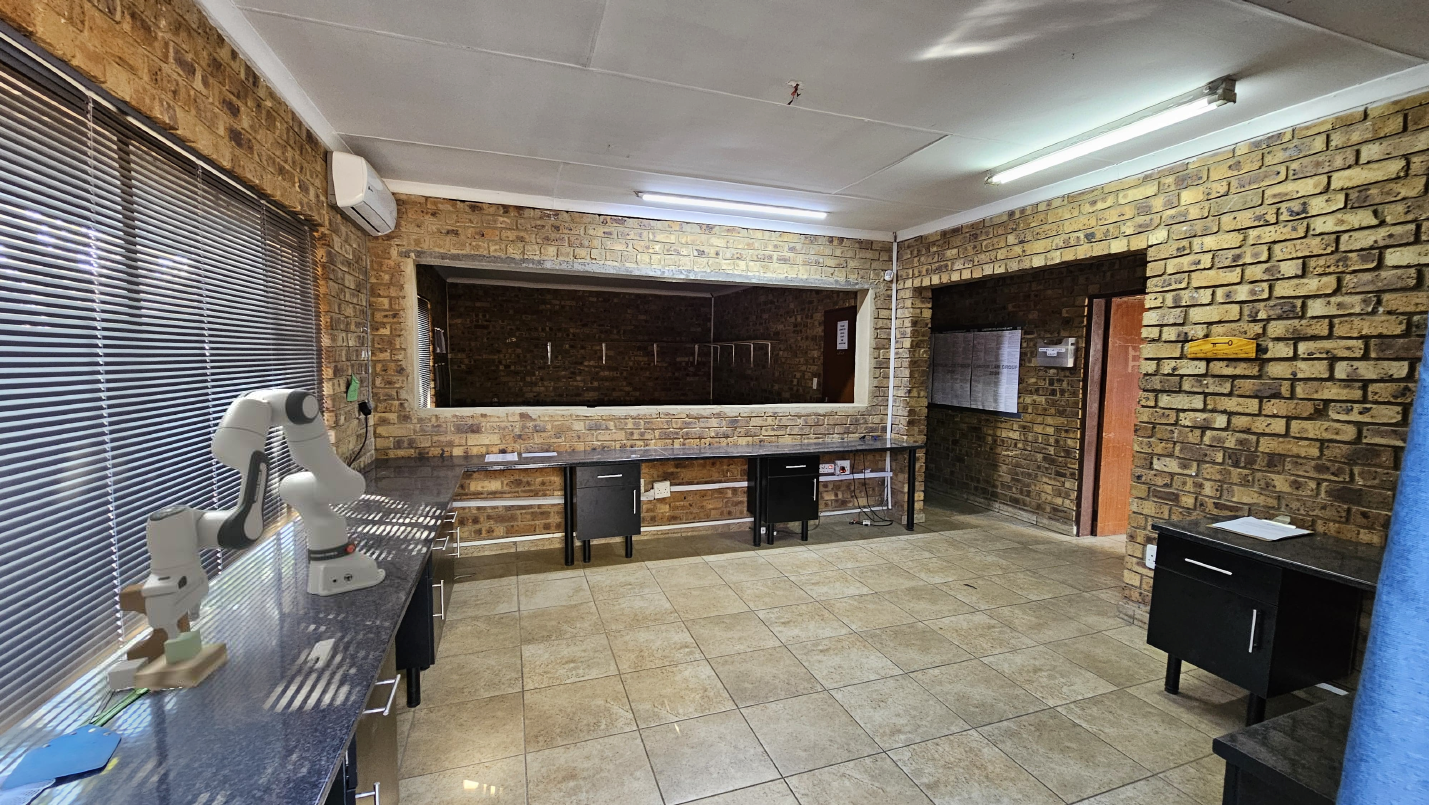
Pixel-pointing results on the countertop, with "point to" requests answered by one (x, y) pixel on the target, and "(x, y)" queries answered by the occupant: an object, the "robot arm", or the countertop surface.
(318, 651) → the white plastic strip tool
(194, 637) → the sage green cube
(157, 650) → the decorative block
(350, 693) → the countertop surface
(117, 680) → the grey plastic cube
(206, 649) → the pale maple block
